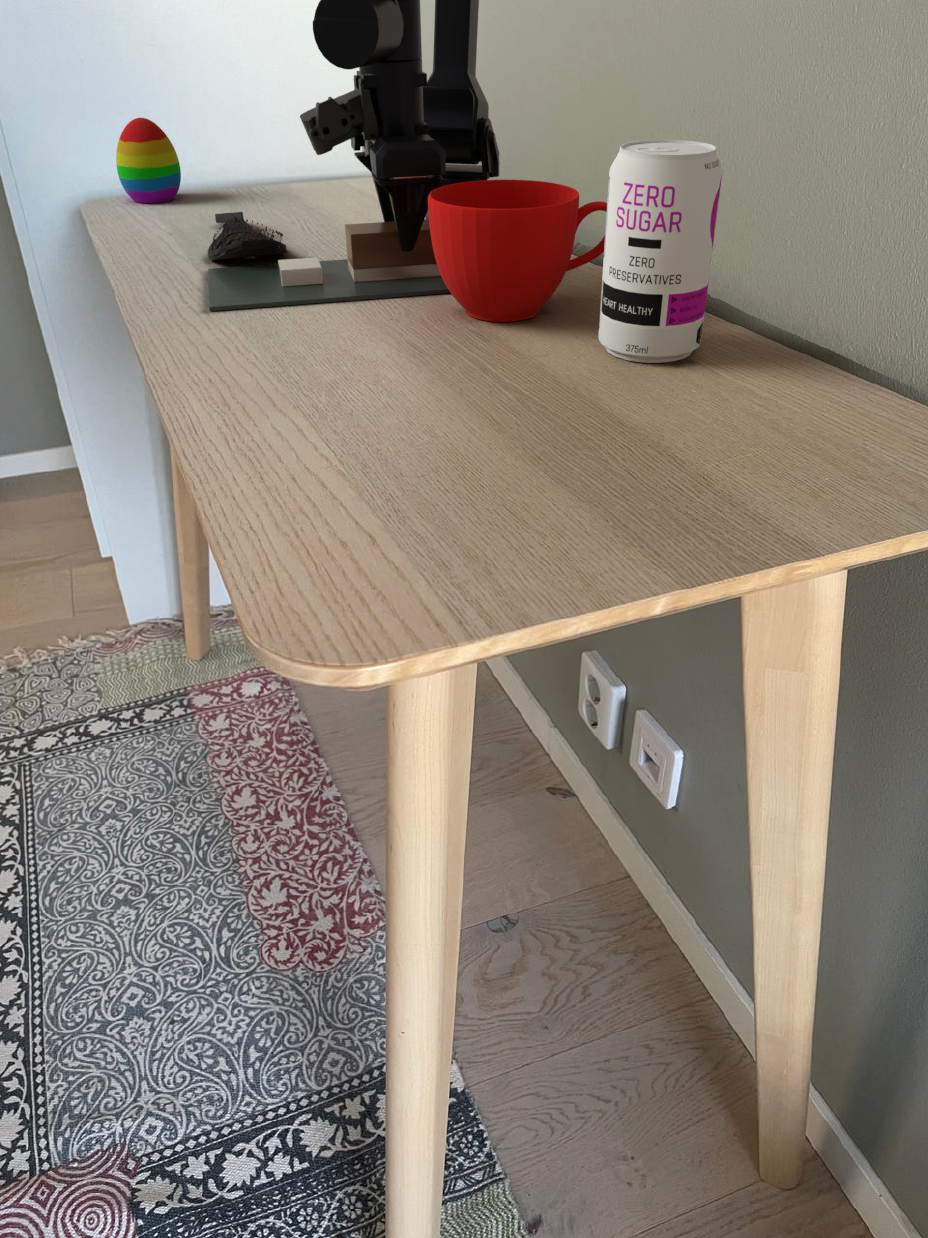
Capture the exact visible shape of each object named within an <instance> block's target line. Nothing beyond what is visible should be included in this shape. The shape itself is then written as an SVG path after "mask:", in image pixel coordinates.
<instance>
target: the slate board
mask: <svg viewBox="0 0 928 1238" xmlns="http://www.w3.org/2000/svg"><path fill="white" fill-rule="evenodd" d="M319 262H320V265H321V267H322V276H323V284H313V285H299V286H286V287H282V284H281V280H280V276H279V267H278V263H273V264H272V263H271V264H258V265H257V264H256V265H243V266H230V267H229V266H226V267H213V268H208V269H207V272H208V273H207V276H208V308H209V312H219V311H232V310H233V311H234V310H245V309H260V308H273V307H285V306H298V305H312V304H313V305H314V304H324V303H337V302H338V303H339V302H350V301H351V302H353V301H363V300H379V299H390V298H391V299H393V298H404V297H417V296H418V297H419V296H432V295H444V294H451V293H450V291H449V290H448V288H447V287H446V285H445V283H444V281H443V279H442V277H441V276H434V277H420V278H406V279H392V280H378V281H365V282H354V281H353V279H352V277H351V274H350V272H349V270H348V258H345V259H331V260H319Z"/></svg>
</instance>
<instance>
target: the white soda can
mask: <svg viewBox="0 0 928 1238" xmlns="http://www.w3.org/2000/svg"><path fill="white" fill-rule="evenodd" d="M717 150H718V147H717V146H715V144H710V143H706V142H703V141H694V140H684V139H683V140H682V139H648V140H647V139H646V140H644V139H643V140H636V141H629V142H625V143H622V144H620V146H619V151H618V153H617V155H616V156H615V158H614V160H613V162H612V164H611V166H610V167H609V170H608V171H609V173H608V174H609V175H608V186H607V187H608V189H607V201H606V203H607V212H606V217H605V231H604V236H605V246H604V252H603V262H602V263H603V264H602V275H601V276H602V278H601V279H602V280H601V291H600V292H601V293H600V305H599V306H600V308H599V320H598V321H599V322H598V336H597V338H598V341H599V343H600V344H601V345H602V346H603V347H605V350H606V352H607V353H609V354H610V355H612V356H614V357H617V358H619V359H621V360H626V361H630V362H635V363H643V364H644V363H647V364H660V363H672V362H676V361H681V360H684V359H686V358H688V357H689V356H691V354H692V352H693V351H695V350H697V349H698V348H700V345H701V343H702V337H703V329H704V323H705V322H704V321H705V312H706V305H707V297H708V289H709V284H710V283H709V282H710V274H711V268H712V267H711V265H712V259H713V251H714V242H715V234H716V226H717V220H718V211H719V203H720V196H721V195H720V194H721V187H722V181H723V173H724V172H723V171H724V170H723V167H722V165H721V161H720V159H719V156H718V153H717Z"/></svg>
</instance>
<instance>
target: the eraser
mask: <svg viewBox="0 0 928 1238" xmlns="http://www.w3.org/2000/svg"><path fill="white" fill-rule="evenodd" d="M344 229H345V243H346V255H347V258H346V259H348V270H349V272H350V274H351V277H352V279H353V281H354V282H365V281H378V280H392V279H406V278H420V277H434V276H441V274H440V272H439V269H438V266H437V262H436V259H435V255H434V251H433V246H432V240H431V233H430V224H429V219H426V220H425V219H424V222H423V224H422V227H421V230H420V232H419V235H418V238H417V240H416V243H415V246H414V249H413V250H412V251H407V252H403V251H402V250H401V248H400V243H399V239H398V234H397V230H396V225H395V221H394V222H384V221H380V222H379V221H378V222H364V223H348V224H344Z"/></svg>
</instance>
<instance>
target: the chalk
mask: <svg viewBox="0 0 928 1238" xmlns="http://www.w3.org/2000/svg"><path fill="white" fill-rule="evenodd" d="M319 261H320V259H319V257H316V256H315V257H304V258H302V257H301V258H287V259H278V260H277V264H278V267H279V276H280V280H281V284H282V287H286V286H299V285H313V284H323V276H322V267H321V265H320V262H319Z"/></svg>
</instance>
